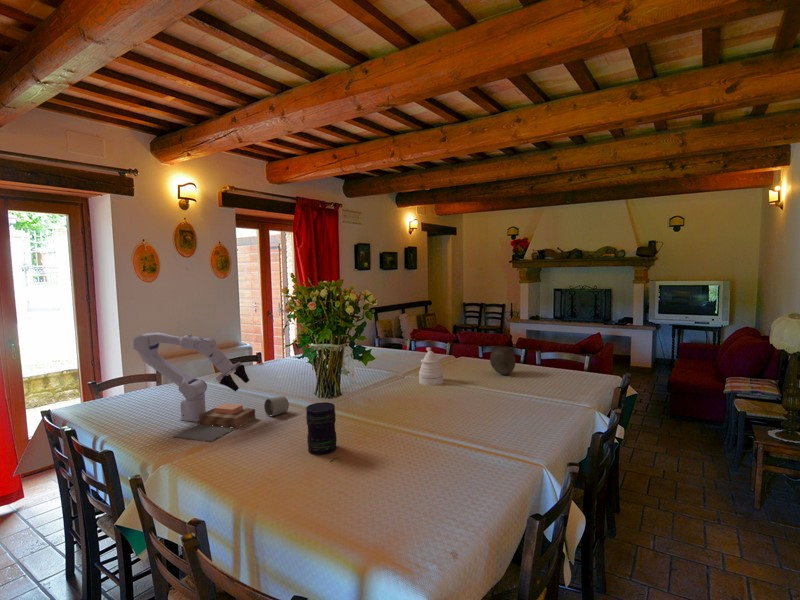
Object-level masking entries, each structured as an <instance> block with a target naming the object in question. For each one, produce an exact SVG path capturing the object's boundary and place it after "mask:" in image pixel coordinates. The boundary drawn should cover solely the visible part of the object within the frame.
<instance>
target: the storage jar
mask: <svg viewBox="0 0 800 600" xmlns="http://www.w3.org/2000/svg"><path fill="white" fill-rule="evenodd" d="M335 406H336V405H335V404H334V403H332V402H324V401H323V402H316V403H315V402H314V403H312V404H309V405H307V406H306V407H305V408H306V409H305V412H306V414H305V418H306V425H307V437H306V439H307V442H306V443H307V447H308V449H307V452H308V453H309V454H310V455H312V456H325V455H326V456H327V455H329V454H332V453H335V452H336V450H337V431H336V407H335Z"/></svg>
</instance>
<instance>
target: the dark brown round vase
mask: <svg viewBox="0 0 800 600" xmlns="http://www.w3.org/2000/svg"><path fill="white" fill-rule="evenodd" d="M489 363H490V365H491V368H492V369H493V370H494V371H495V372H497V373H498V374H500V375H505V376H506V375H509V374H511V373H512V372H514V369H515V366H516V357H515V354H514V352H512V350H511V349H510V348H507V347H497V348H495V349H493V351H492V352H491V353H490V357H489Z"/></svg>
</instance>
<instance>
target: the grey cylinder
mask: <svg viewBox="0 0 800 600" xmlns="http://www.w3.org/2000/svg"><path fill="white" fill-rule="evenodd" d="M289 403H290V402H289V400H288V398H287V397H286V396H284V395H279V396H276V397H270V398H269V397H268V398H267V399H265V401H264V404H263V407H264V412H265V414H266V416H268V417H269V416H270V415H272V416H271V417H270V418H272V417H275V416H278V415H281V413H282V414H284V413H286V412H288V410H289V407H290V404H289Z"/></svg>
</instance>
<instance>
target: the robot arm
mask: <svg viewBox="0 0 800 600" xmlns="http://www.w3.org/2000/svg"><path fill="white" fill-rule="evenodd" d="M132 344H133V349H134V350H135V351H137V353H138V354H139V356H140V358H141V359H142V361H143V362H144V363H145V364H146V365H148V366H150V367H151V369H154V370H155V371H157V372H158V373H159V374H161V375H162V376H163V377H165V378H166V379H168V380H169V381H171V382H173V383H174V384H175V385H176V386H178V391H179V393H180V394H181V395H182V396H183V398H182V400H181V401H180V405H179V407H180V416H181V417H180V419H179V420H180V421H186V422H187V421H188V422H195V423H196V422H197V423H198V422H199V415H200V414H202V413H205V412H207V409H206V395H205V394H206V393H205V392H206V391H207V390H208V385H207V382H206V381H205V380H203V379H199V378H197V377H195V376H191V375H188V374H186V373H185V372H183V371H182V370H181V369H179V368H178V367H176V366H175V365H174V364H173V363H171V362H170V361H168V360H166V359H165V358H164V357H162V356H161V355H159V348H160V344H167V345H169V344H170V345H175V346H177V345H178V346H180V347H181V348H182V349H183V350H190V351H196V352H198V353H199V354H201V355H202V354H203V355H204V356H205V357H206V358H207V359H208V360H209V361H210V362H211V364H213V366H214V367H215V368H216V369H217V370H218V371H219V373H220V374H219V375H217V377H215V379H216V380H217V381H218V382H219V384H220V385H222V386H225V387H226V388H227V387H228V388H229V389H231V390H232V391H234V392H237V391H238V390H239V389H240V387H239V386H238V384H237V383H236V382H235V380H234V379H233V377H232V375H231V374H232V373H233V375H235V376H237V377H238V378H239V379H241V381H242V382H244V383H245V384H247V383H248V382H249V381H250V378H249V376H248V374H247V372H246V369H245V365H244V364H243V363H242V362H241V361H238V362H236V363H232V361H231V360H230V359H229V358H228V357H227V356H226V354H224V353H223V351H222V350H221V349H220V348H219V347H218V346H217V341H216V340H215V339H214V338H213V337H210V336H209V337H205V338H204V337H203V336H194V335H193V334H191V333H189V334H187V335H186V334H185V335H184V336H177V335H173V334H168V333H163V332H158V331H157V332H156V331H150V332H147V333H143V334H139V335H138V334H137V335H136V336H135V337H134V338H133V343H132Z"/></svg>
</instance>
